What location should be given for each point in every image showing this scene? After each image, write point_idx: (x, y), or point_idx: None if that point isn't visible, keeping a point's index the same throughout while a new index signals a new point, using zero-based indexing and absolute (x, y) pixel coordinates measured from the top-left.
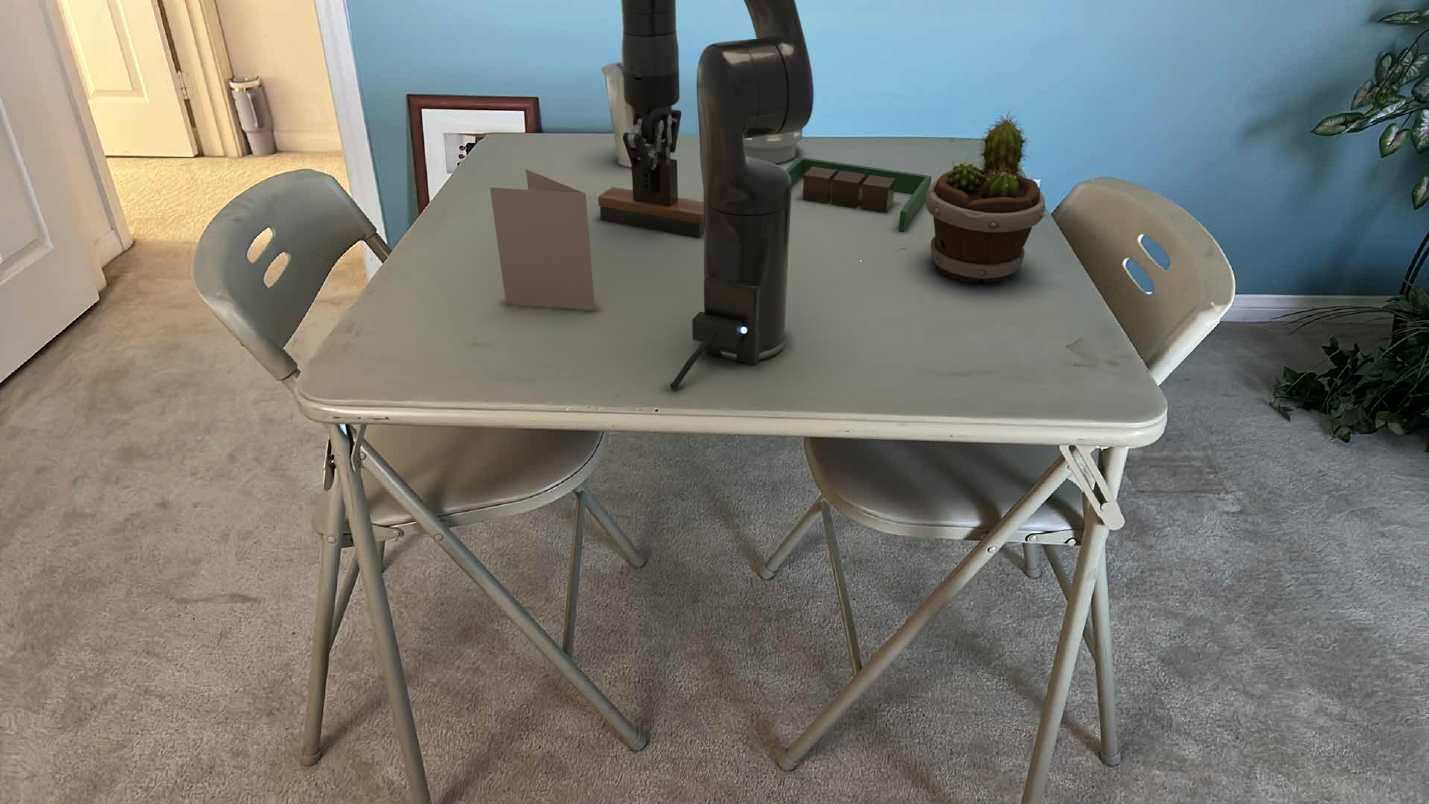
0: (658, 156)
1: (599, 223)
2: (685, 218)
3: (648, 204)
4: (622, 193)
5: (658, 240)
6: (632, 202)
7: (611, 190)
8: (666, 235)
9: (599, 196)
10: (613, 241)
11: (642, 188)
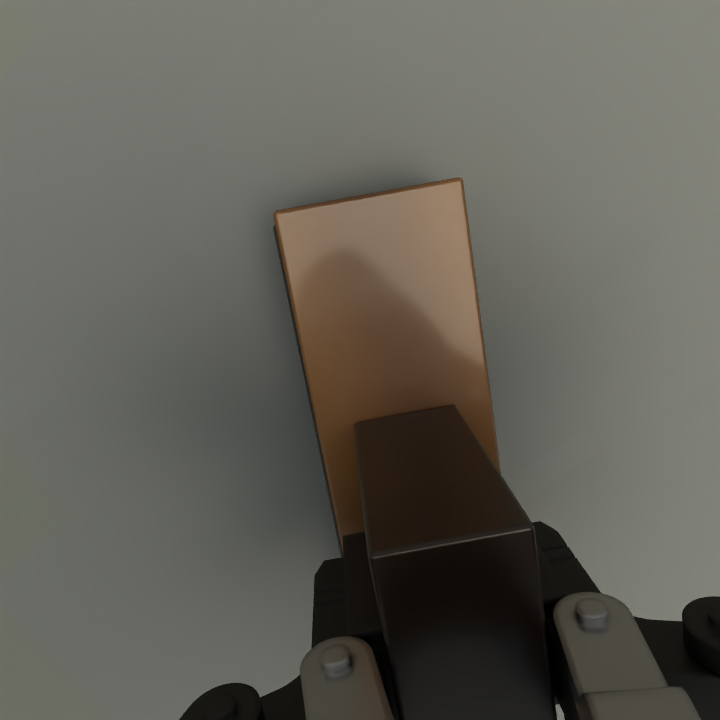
0: (562, 683)
1: (243, 245)
2: None
3: (348, 528)
4: (402, 305)
5: (256, 581)
6: (322, 440)
7: (406, 214)
8: None
9: (281, 217)
10: (124, 437)
11: (315, 574)
